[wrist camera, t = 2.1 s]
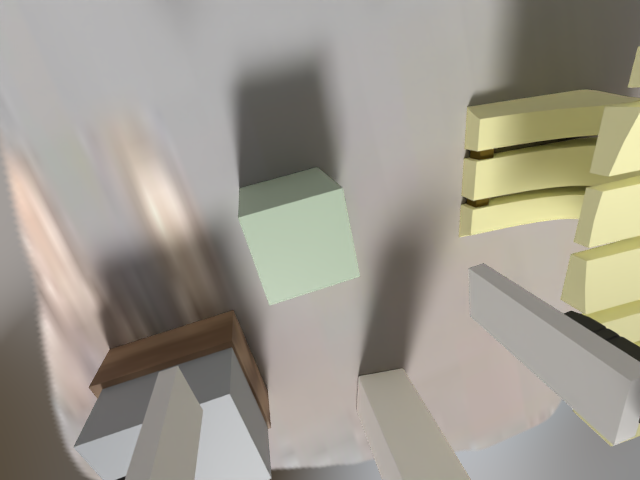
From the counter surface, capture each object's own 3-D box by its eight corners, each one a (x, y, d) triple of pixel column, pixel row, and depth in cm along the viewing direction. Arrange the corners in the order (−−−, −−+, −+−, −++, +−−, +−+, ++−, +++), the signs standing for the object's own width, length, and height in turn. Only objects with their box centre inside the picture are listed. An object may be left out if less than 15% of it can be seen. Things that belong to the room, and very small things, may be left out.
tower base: (111, 346, 31) (88, 387, 26) (233, 307, 32) (231, 340, 27) (164, 424, 36) (152, 470, 31) (267, 388, 37) (270, 427, 32)
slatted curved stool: (568, 273, 40) (784, 383, 24) (454, 301, 38) (611, 446, 22) (637, -22, 28) (1173, -195, 12) (474, -7, 25) (871, -201, 9)
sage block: (239, 188, 27) (238, 217, 20) (317, 166, 28) (342, 187, 21) (263, 258, 30) (269, 305, 23) (332, 236, 31) (360, 276, 24)
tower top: (102, 389, 26) (73, 447, 22) (232, 347, 28) (229, 393, 23) (158, 465, 31) (144, 526, 27) (267, 426, 32) (271, 478, 28)
